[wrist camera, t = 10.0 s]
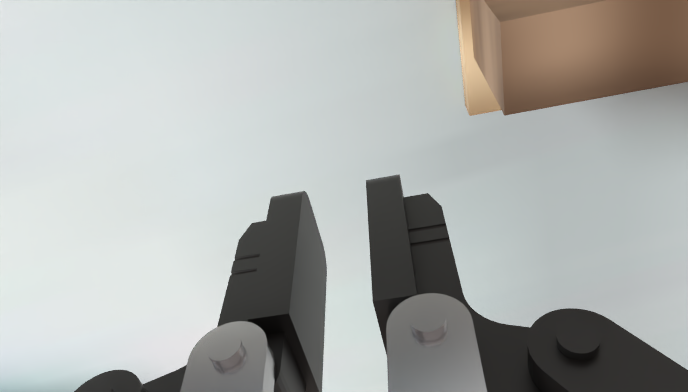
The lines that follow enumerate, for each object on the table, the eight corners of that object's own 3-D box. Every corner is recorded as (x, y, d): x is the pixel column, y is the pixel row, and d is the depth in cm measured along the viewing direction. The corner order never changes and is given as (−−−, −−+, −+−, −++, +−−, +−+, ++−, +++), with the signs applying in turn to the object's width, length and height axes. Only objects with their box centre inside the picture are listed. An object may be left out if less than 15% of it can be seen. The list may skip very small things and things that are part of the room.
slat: (765, -86, 18) (885, -57, 14) (747, 3, 20) (850, 51, 16) (467, -22, 20) (500, 21, 15) (473, 57, 21) (504, 115, 17)
